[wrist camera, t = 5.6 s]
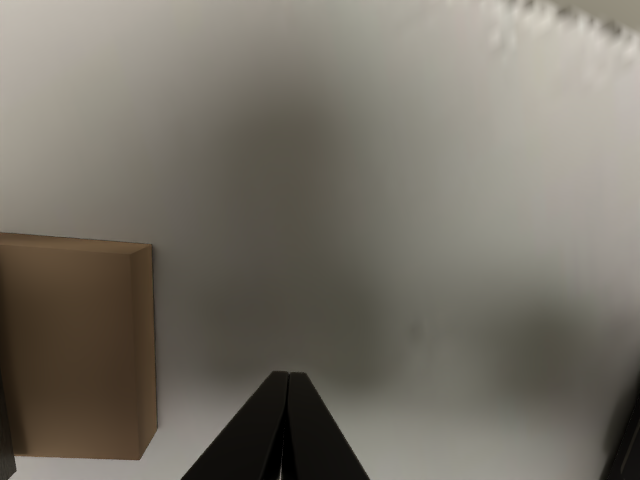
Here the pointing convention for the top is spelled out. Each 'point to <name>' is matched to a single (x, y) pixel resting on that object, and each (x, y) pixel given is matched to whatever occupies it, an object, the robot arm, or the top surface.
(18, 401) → the frame
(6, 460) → the box with dark endplate
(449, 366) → the top surface
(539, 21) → the top surface
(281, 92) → the top surface
